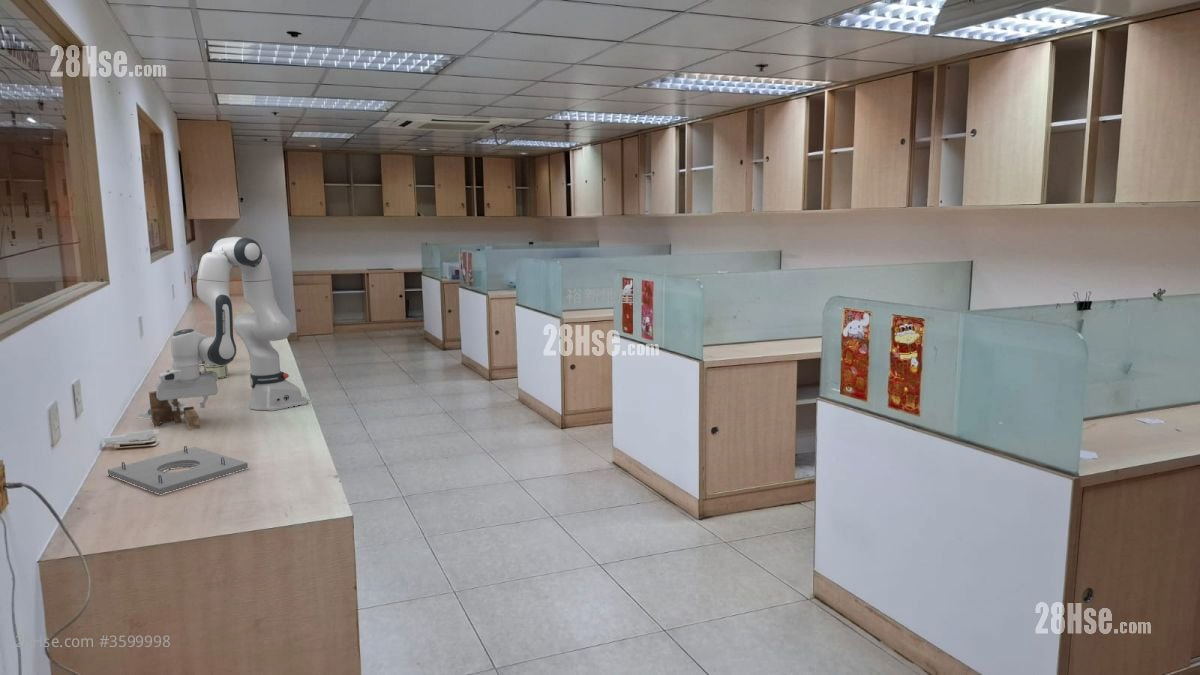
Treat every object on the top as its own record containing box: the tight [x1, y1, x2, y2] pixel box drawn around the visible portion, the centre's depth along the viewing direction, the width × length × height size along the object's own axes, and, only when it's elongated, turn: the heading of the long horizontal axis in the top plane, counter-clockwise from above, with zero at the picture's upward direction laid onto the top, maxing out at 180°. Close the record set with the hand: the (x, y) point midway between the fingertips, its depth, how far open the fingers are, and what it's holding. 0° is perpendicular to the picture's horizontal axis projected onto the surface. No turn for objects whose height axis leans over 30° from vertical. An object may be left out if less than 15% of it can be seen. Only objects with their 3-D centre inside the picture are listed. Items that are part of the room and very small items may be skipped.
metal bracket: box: [136, 400, 186, 420], centre depth 297 cm, size 14×6×15 cm
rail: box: [183, 406, 201, 431], centre depth 282 cm, size 3×13×6 cm, turn 36°
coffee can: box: [203, 361, 229, 379], centre depth 364 cm, size 10×10×14 cm
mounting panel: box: [107, 445, 249, 494], centre depth 231 cm, size 27×5×30 cm
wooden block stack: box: [148, 390, 182, 427], centre depth 285 cm, size 9×8×12 cm
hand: (188, 409), depth 281 cm, fingers open, 8 cm apart
